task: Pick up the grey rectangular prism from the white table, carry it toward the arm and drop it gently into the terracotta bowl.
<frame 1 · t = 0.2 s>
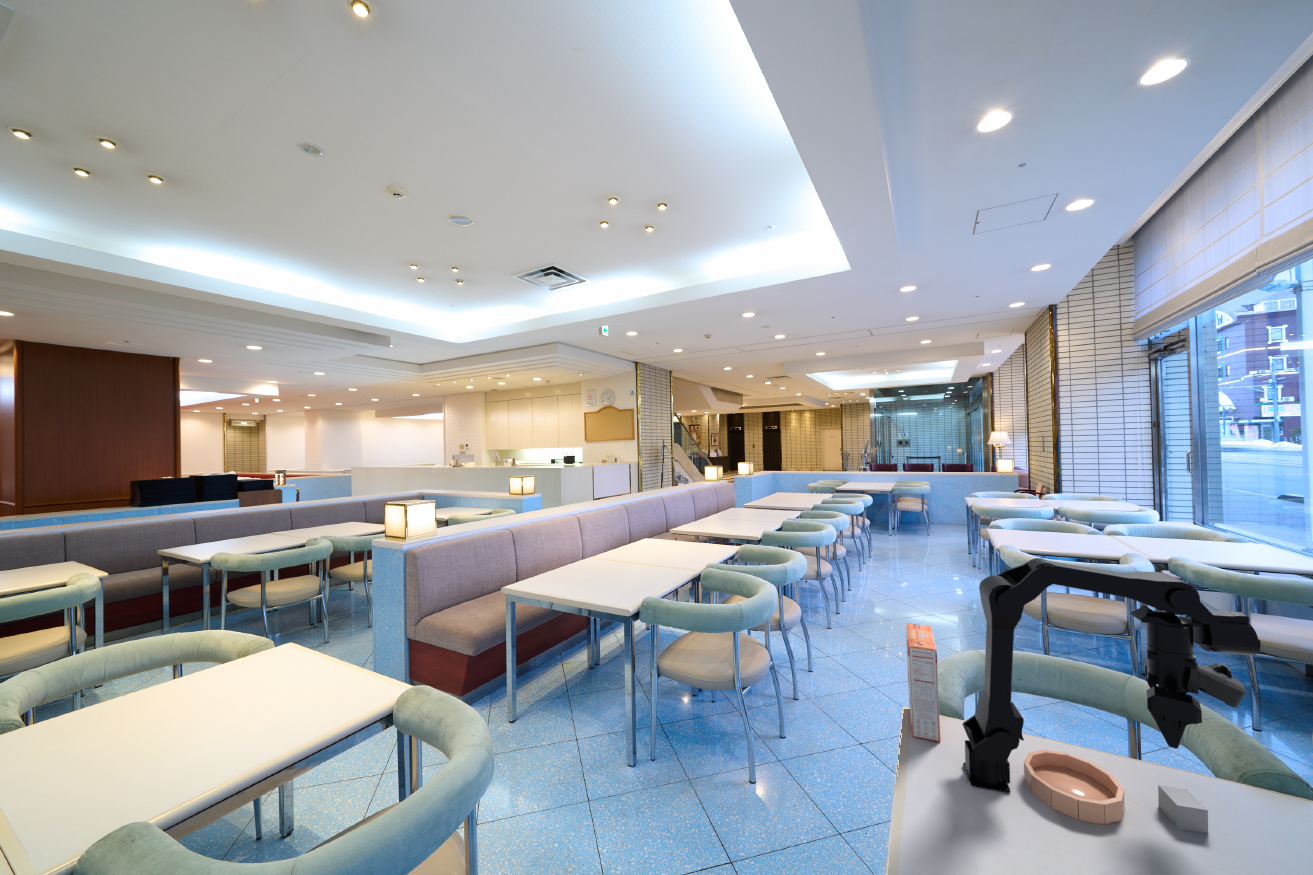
hand: (1171, 734, 87), 14 cm above the table, tool pointing down, fingers open, 9 cm apart
cracker box: (923, 723, 115), on the table
bowl: (1072, 793, 92), on the table
grey rectangular prism: (1182, 819, 85), on the table
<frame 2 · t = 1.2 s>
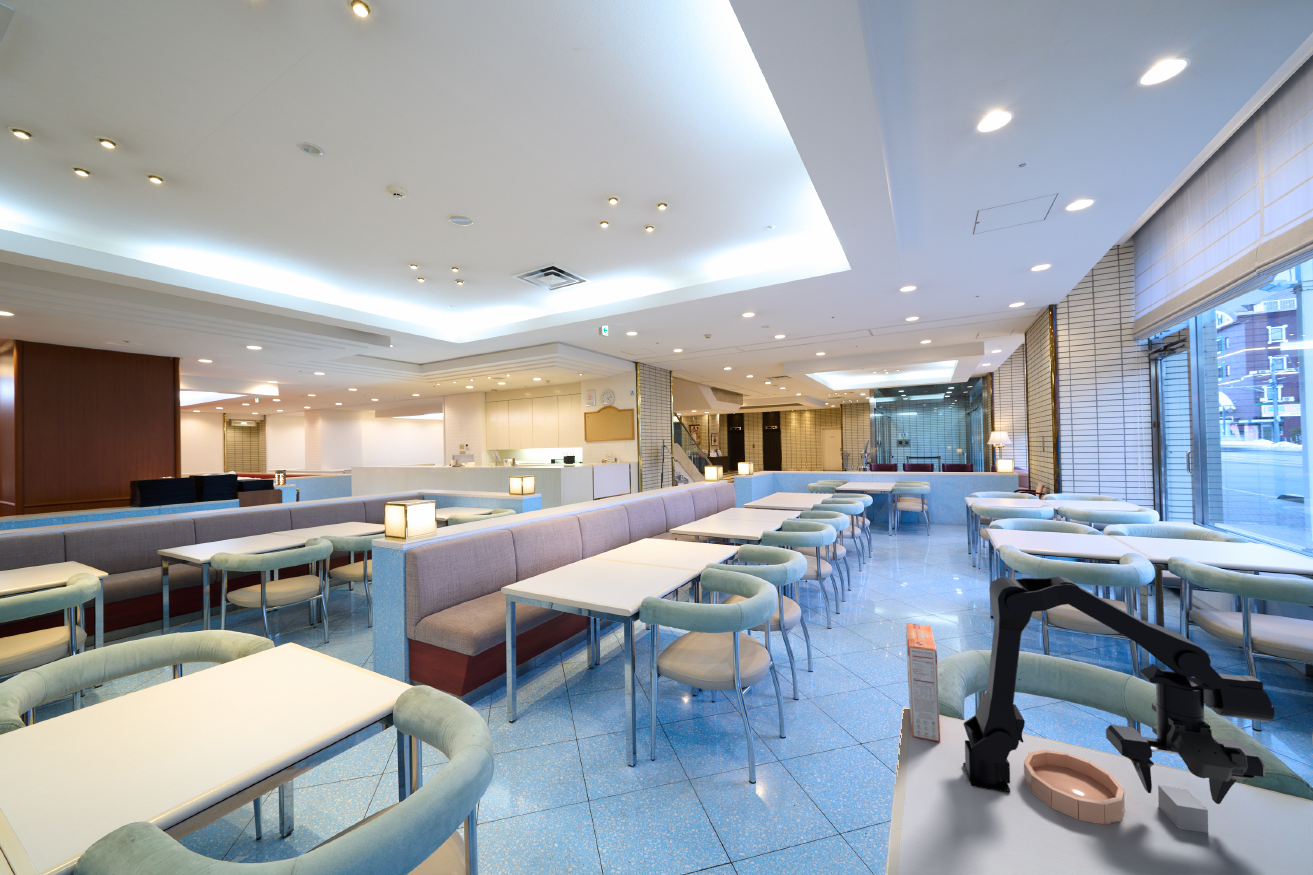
hand: (1181, 796, 85), 4 cm above the table, tool pointing down, fingers open, 9 cm apart
nothing on the table moved.
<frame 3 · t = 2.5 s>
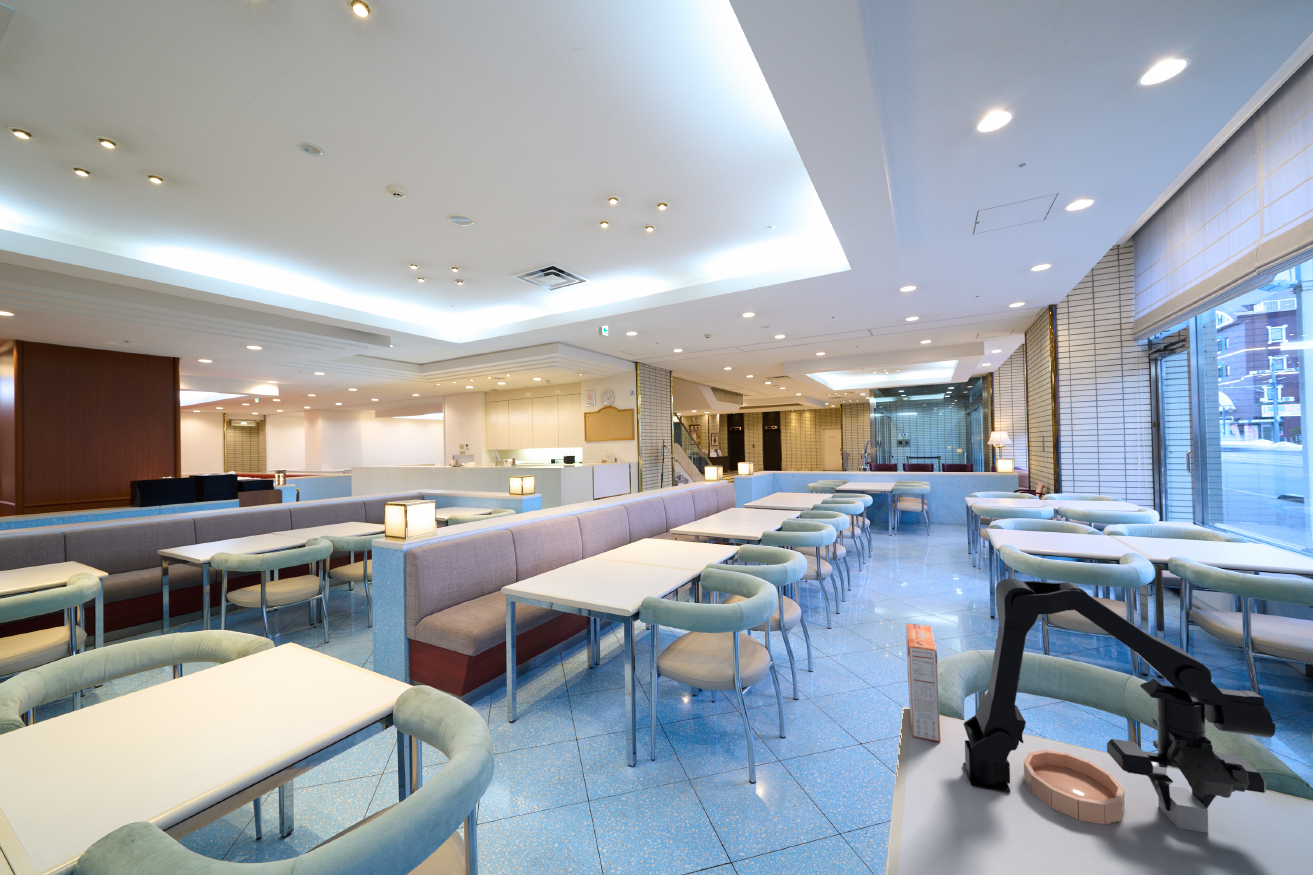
hand: (1182, 811, 85), 1 cm above the table, tool pointing down, fingers closed on grey rectangular prism, 4 cm apart
grey rectangular prism: (1182, 818, 85), on the table, touching gripper
everything else where it was.
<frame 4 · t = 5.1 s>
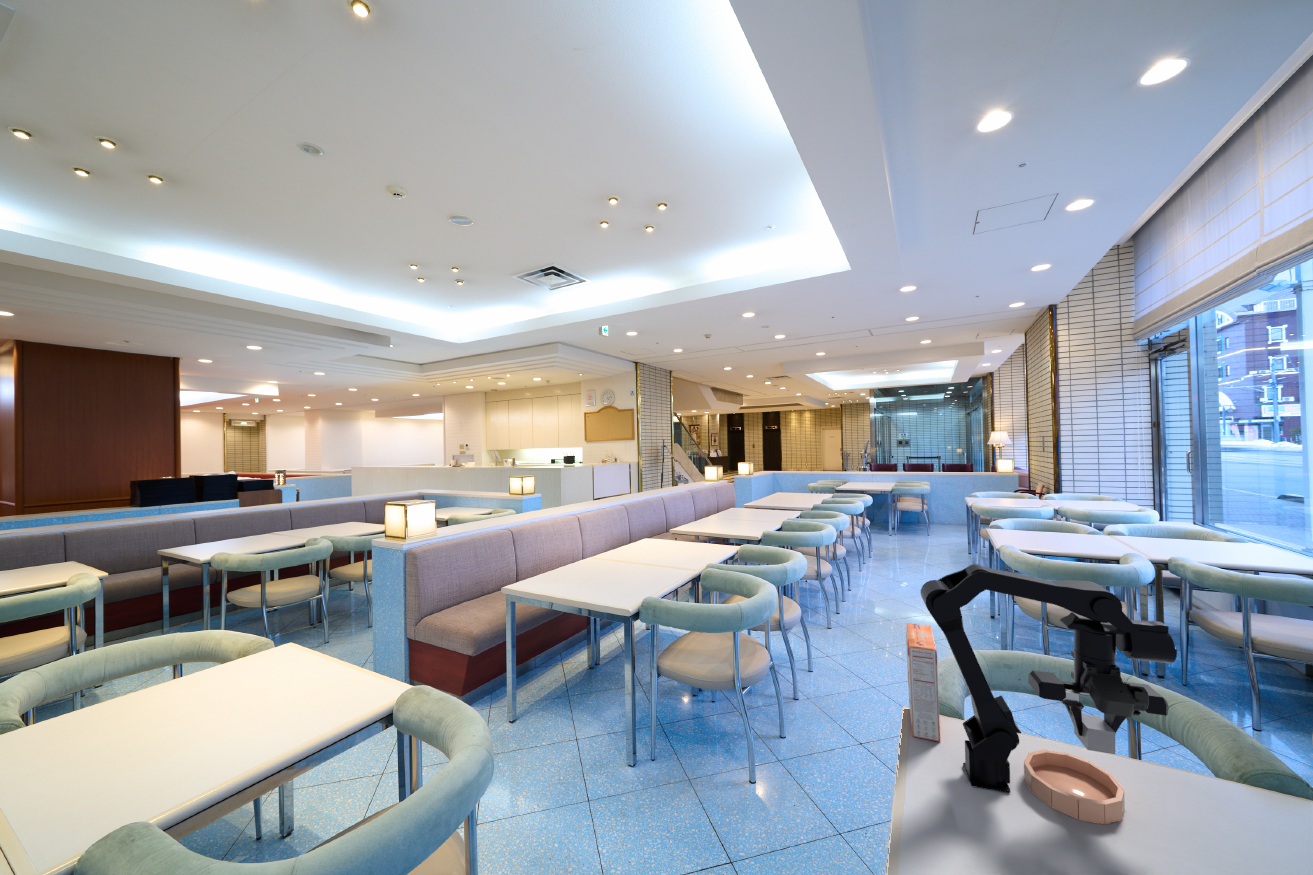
hand: (1093, 736, 90), 12 cm above the table, tool pointing down, fingers closed on grey rectangular prism, 4 cm apart
grey rectangular prism: (1094, 743, 90), point 10 cm above the table, touching gripper
everything else where it was.
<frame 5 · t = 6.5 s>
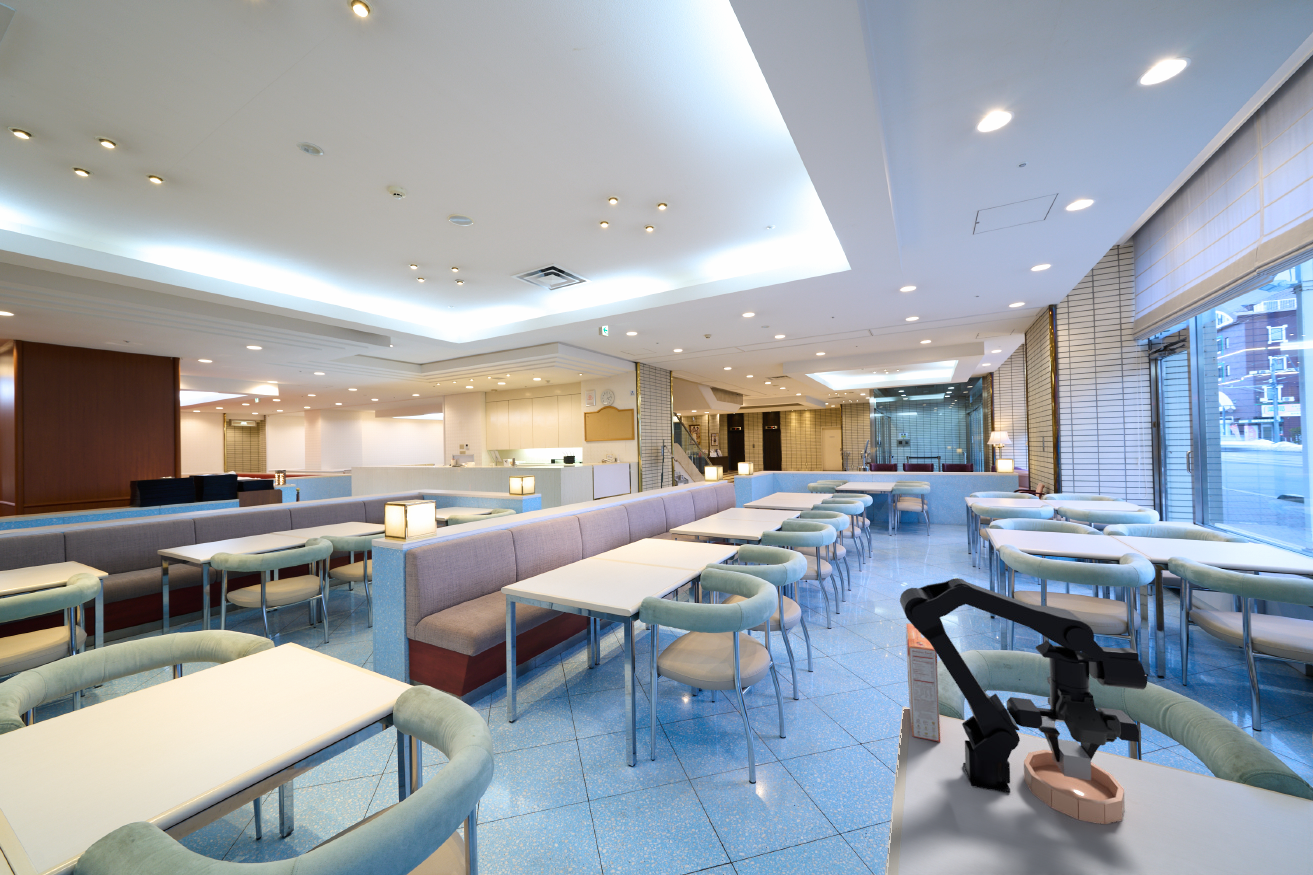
hand: (1070, 762, 92), 6 cm above the table, tool pointing down, fingers closed on grey rectangular prism, 4 cm apart
grey rectangular prism: (1071, 768, 92), point 5 cm above the table, touching gripper
everything else where it was.
when the fingers open (4 cm above the table, at t = 7.5 s): grey rectangular prism drops 2 cm, resting on bowl.
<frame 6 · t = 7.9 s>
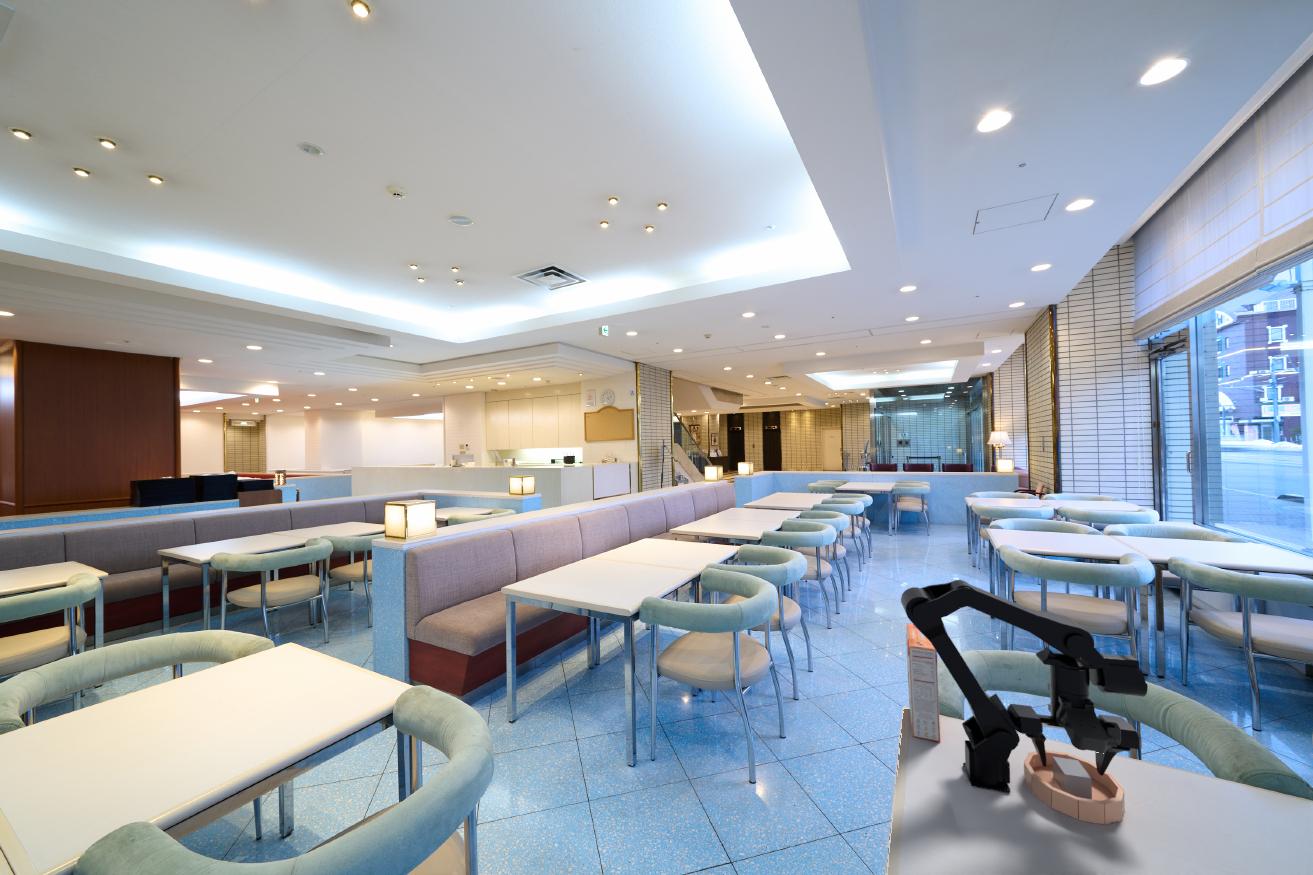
hand: (1071, 769, 92), 4 cm above the table, tool pointing down, fingers open, 8 cm apart
grey rectangular prism: (1071, 787, 92), point 1 cm above the table, touching bowl
everything else where it was.
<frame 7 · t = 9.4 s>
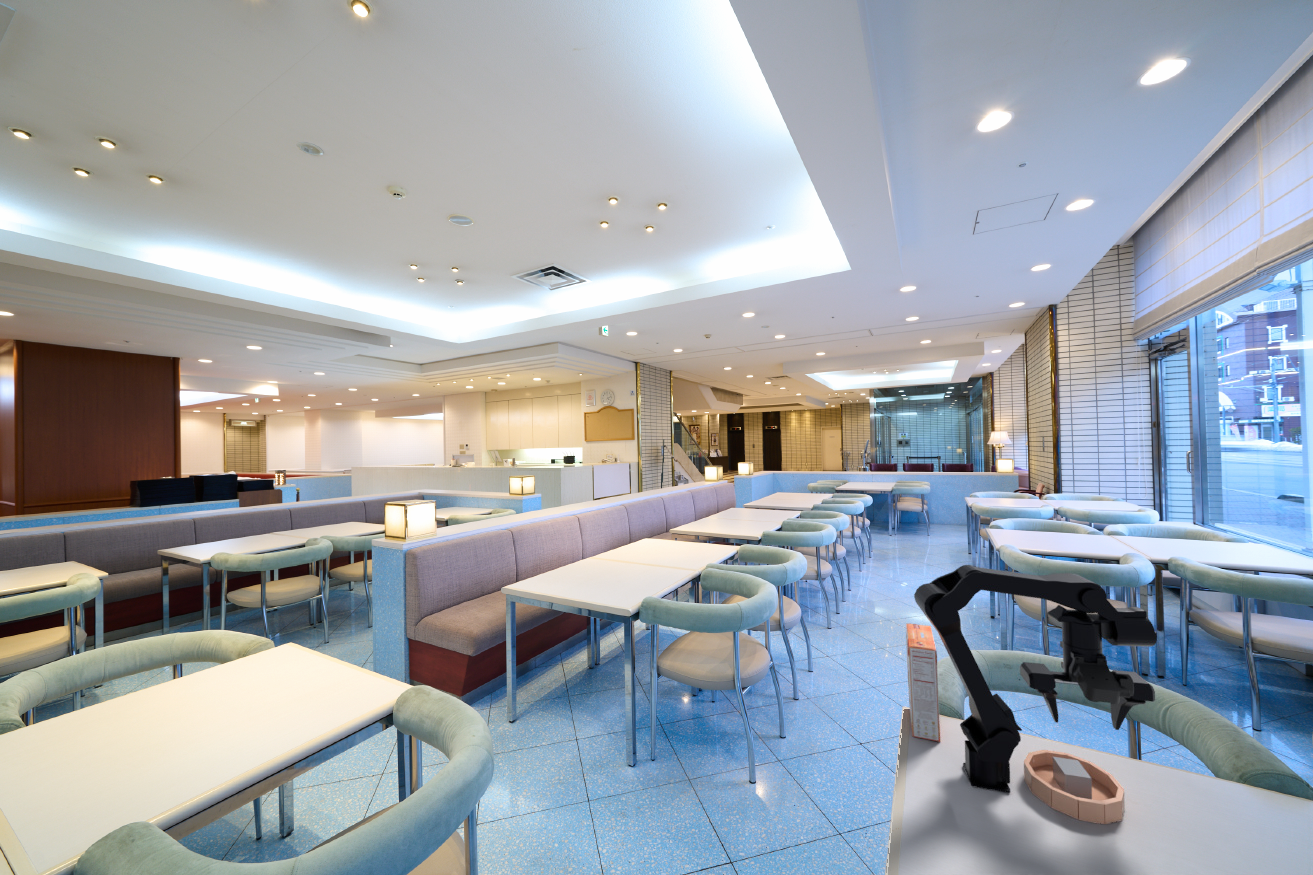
hand: (1085, 724, 93), 12 cm above the table, tool pointing down, fingers open, 9 cm apart
nothing on the table moved.
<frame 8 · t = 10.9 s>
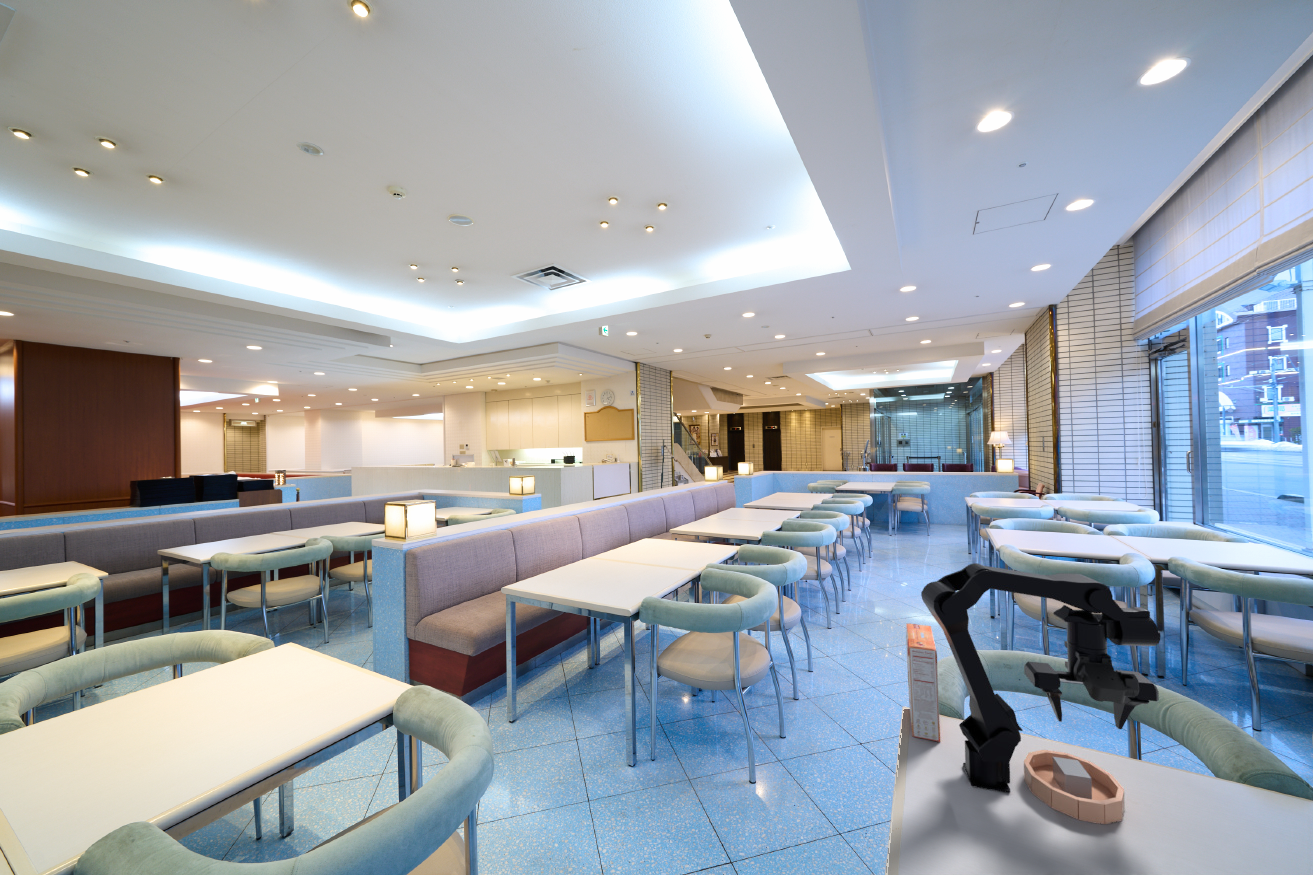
hand: (1088, 724, 93), 12 cm above the table, tool pointing down, fingers open, 9 cm apart
nothing on the table moved.
at the end: grey rectangular prism inside the target area on the bowl (0.0 cm from its centre), point 1.0 cm above the bowl's base; the gripper is holding nothing; grey rectangular prism moved 15.2 cm from its start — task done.
